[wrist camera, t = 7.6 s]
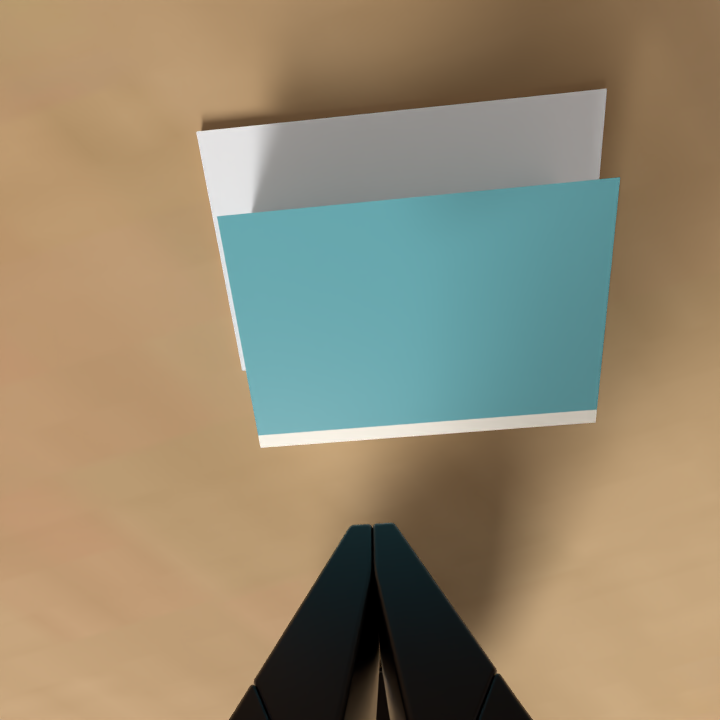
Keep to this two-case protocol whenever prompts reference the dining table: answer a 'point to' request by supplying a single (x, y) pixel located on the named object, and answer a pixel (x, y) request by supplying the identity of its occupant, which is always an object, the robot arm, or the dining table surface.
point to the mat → (401, 155)
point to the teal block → (424, 312)
